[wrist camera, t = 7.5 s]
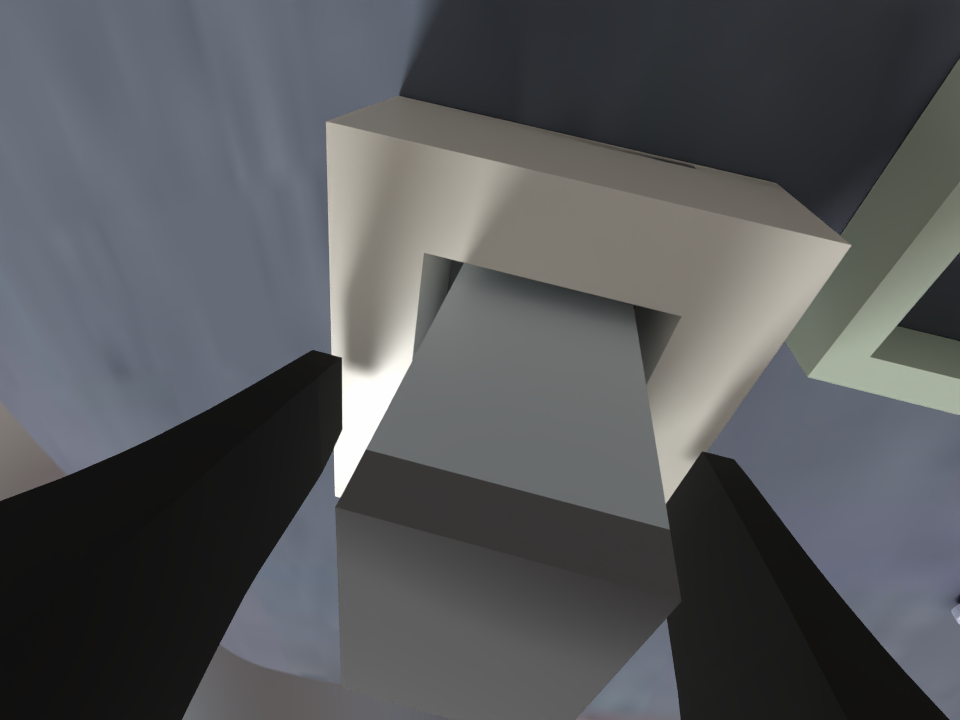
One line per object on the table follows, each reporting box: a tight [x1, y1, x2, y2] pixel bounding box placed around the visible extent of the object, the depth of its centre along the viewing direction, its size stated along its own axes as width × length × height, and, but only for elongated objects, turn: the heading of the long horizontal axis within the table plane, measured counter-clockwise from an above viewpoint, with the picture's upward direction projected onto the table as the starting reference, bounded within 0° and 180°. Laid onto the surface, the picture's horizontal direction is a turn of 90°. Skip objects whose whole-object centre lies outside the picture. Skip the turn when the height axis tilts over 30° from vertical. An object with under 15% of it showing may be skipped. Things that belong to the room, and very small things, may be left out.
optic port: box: [326, 96, 851, 503], centre depth 11 cm, size 8×10×4 cm
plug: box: [335, 263, 681, 720], centre depth 9 cm, size 4×5×8 cm
